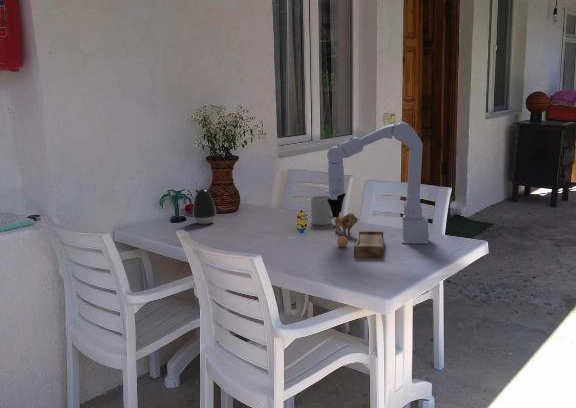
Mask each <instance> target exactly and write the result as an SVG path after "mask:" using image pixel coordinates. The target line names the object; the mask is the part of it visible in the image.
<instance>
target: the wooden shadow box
mask: <svg viewBox="0 0 576 408" xmlns="http://www.w3.org/2000/svg"><path fill="white" fill-rule="evenodd" d="M358 232H359V233H358V234H359V235H358V237H357V238H356V242H355V245H354V244H353V258H360V259H361V258H363V259H364V258H365V259H366V258H367V259H370V258H373V259H378V258H379V259H383V256H384V248H385V238H384V231H378V230H377V231H376V230H375V231H374V230H373V231H372V230H371V231H370V230H369V231H368V230H366V231H363V230H362V231H361V230H360V231H358Z"/></svg>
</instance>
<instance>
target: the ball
mask: <svg viewBox="0 0 576 408" xmlns="http://www.w3.org/2000/svg"><path fill="white" fill-rule="evenodd" d="M336 244H337V246H339V247H340V248H345V247H346V246H347V245H348V244H349V239H348V237H347V236H343V235H341V236H339V237H338V238H337V240H336Z"/></svg>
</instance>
